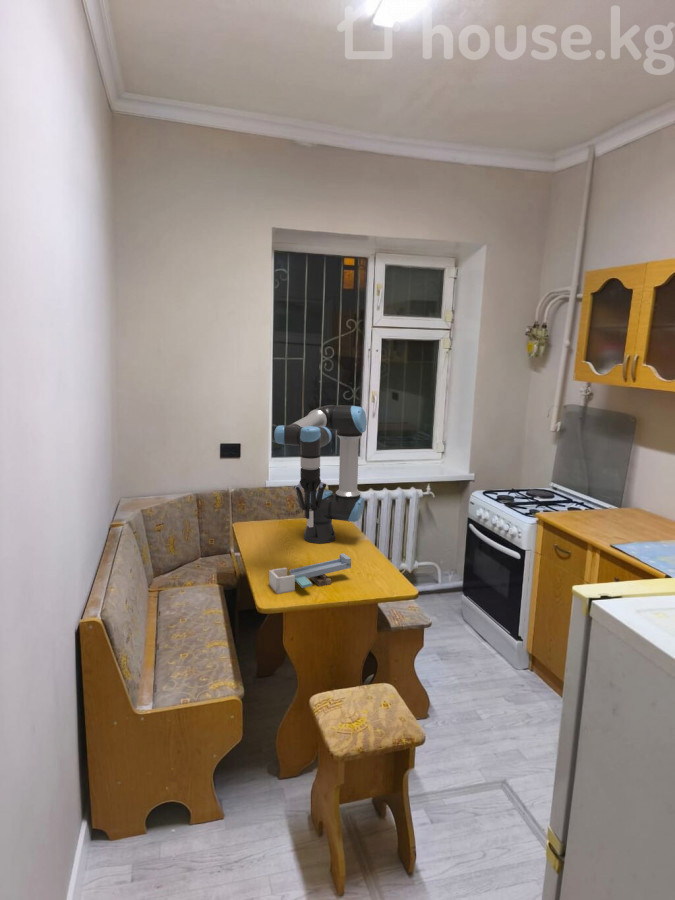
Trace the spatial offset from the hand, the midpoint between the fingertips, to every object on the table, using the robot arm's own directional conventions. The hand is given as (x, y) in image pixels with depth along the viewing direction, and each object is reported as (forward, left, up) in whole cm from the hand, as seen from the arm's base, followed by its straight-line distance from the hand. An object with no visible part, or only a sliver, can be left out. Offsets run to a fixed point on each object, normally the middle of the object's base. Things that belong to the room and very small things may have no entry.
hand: (310, 526), depth 227 cm
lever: (-3, +7, -18) cm, 20 cm away
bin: (+13, +3, -22) cm, 26 cm away
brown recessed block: (-3, +3, -22) cm, 23 cm away
